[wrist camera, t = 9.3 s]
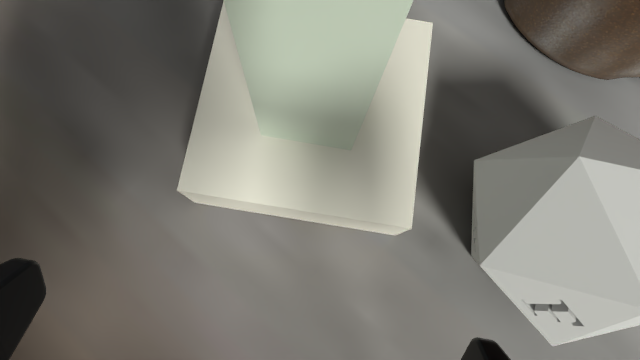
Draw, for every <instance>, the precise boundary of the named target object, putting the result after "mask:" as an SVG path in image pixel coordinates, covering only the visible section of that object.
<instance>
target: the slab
mask: <svg viewBox="0 0 640 360" xmlns="http://www.w3.org/2000/svg"><path fill="white" fill-rule="evenodd" d="M432 26H433V23H430V22H424V21H418V20H412V19H405V22H404V24H403V27H402V29H401V31H400V34H399V36H398V39H397V41H396V43H395V46H394V48H393V51H392V53H391V56H390V58H389V60H388V63H387V65H386V68H385V70H384V72H383V75H382V77H381V80H380V82H379V84H378V87H377V89H376V92H375V94H374V96H373V99H372V101H371V104H370V106H369V109H368V111H367V113H366V116H365V118H364V121H363V123H362V125H361V128H360V130H359V133H358V135H357V137H356V140H355V142H354V145H353V147H352V149H351V150H346V149H340V148H334V147H328V146H322V145H316V144H310V143H305V142H299V141H293V140H287V139H281V138H275V137H269V136H263V135H261V133H260V129H259V126H258V122H257V119H256V115H255V112H254V108H253V104H252V101H251V97H250V94H249V90H248V86H247V83H246V79H245V76H244V72H243V68H242V65H241V61H240V58H239V54H238V50H237V47H236V43H235V40H234V36H233V32H232V29H231V25H230V22H229V18H228V14H227V11H226V7H225V4H224V2H223V6H222V10H221V14H220V18H219V22H218V26H217V30H216V34H215V38H214V42H213V46H212V50H211V54H210V58H209V62H208V66H207V70H206V74H205V79H204V83H203V87H202V91H201V95H200V99H199V103H198V107H197V111H196V115H195V119H194V123H193V127H192V131H191V135H190V139H189V143H188V147H187V151H186V155H185V160H184V164H183V168H182V172H181V176H180V180H179V184H178V188H177V191H179V192H180V193H182V194H183V195H184V196H186V197H187V198H189V199H190V200H192V201H193V202H195V203H200V204H206V205H212V206H218V207H224V208H230V209H236V210H243V211H249V212H255V213H261V214H267V215H273V216H279V217H285V218H292V219H298V220H304V221H310V222H316V223H322V224H328V225H334V226H340V227H347V228H353V229H359V230H365V231H371V232H377V233H383V234H389V235H397V234H400V233H402V232H405V231H407V230H410V229H412V220H413V210H414V201H415V191H416V181H417V172H418V162H419V152H420V143H421V133H422V123H423V113H424V104H425V94H426V84H427V75H428V65H429V55H430V46H431V36H432Z"/></svg>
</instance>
